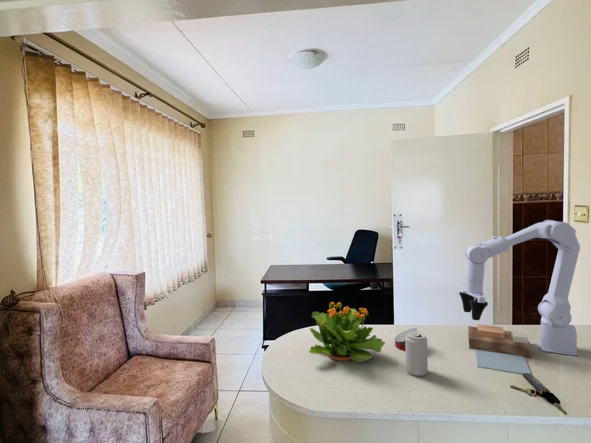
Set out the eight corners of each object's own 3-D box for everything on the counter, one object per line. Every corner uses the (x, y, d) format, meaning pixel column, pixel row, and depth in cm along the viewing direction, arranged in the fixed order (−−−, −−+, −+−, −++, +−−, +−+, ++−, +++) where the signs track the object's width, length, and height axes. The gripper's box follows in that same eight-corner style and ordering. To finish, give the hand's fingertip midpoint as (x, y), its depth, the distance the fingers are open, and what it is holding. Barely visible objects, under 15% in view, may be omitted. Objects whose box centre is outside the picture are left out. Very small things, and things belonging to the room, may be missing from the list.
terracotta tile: (502, 332, 120) (502, 326, 120) (504, 338, 115) (504, 333, 114) (477, 329, 124) (477, 324, 123) (478, 335, 118) (478, 330, 118)
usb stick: (551, 396, 88) (551, 390, 88) (540, 396, 89) (540, 390, 88) (531, 377, 97) (531, 372, 97) (521, 377, 98) (521, 372, 98)
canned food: (411, 363, 116) (405, 346, 112) (392, 351, 123) (386, 334, 120) (429, 344, 119) (423, 327, 116) (409, 334, 127) (403, 317, 123)
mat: (524, 357, 108) (524, 356, 108) (531, 375, 97) (531, 374, 97) (475, 350, 114) (475, 349, 114) (477, 366, 104) (477, 366, 104)
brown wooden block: (524, 342, 119) (524, 332, 119) (531, 357, 108) (531, 347, 108) (468, 335, 127) (468, 326, 127) (469, 348, 116) (469, 338, 116)
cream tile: (524, 335, 117) (524, 329, 117) (527, 343, 110) (527, 337, 110) (510, 333, 118) (510, 328, 118) (513, 341, 112) (513, 336, 112)
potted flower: (324, 380, 100) (322, 324, 99) (292, 349, 121) (290, 302, 120) (389, 360, 110) (388, 309, 109) (350, 335, 132) (348, 292, 130)
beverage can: (417, 379, 98) (416, 340, 97) (401, 370, 104) (400, 333, 103) (432, 373, 101) (431, 335, 100) (415, 364, 107) (415, 328, 106)
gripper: (455, 273, 126) (452, 308, 127) (471, 284, 112) (467, 322, 113) (474, 274, 125) (471, 309, 127) (493, 285, 111) (489, 324, 112)
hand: (471, 315), depth 120 cm, fingers open, 7 cm apart
